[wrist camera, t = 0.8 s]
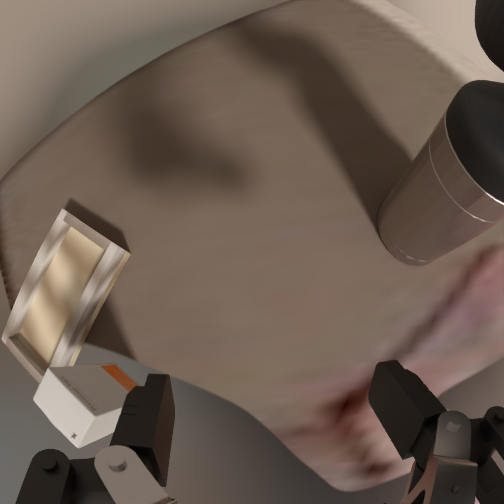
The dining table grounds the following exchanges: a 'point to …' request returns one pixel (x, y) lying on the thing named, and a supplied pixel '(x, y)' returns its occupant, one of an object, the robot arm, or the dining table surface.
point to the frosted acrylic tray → (62, 295)
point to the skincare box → (84, 399)
